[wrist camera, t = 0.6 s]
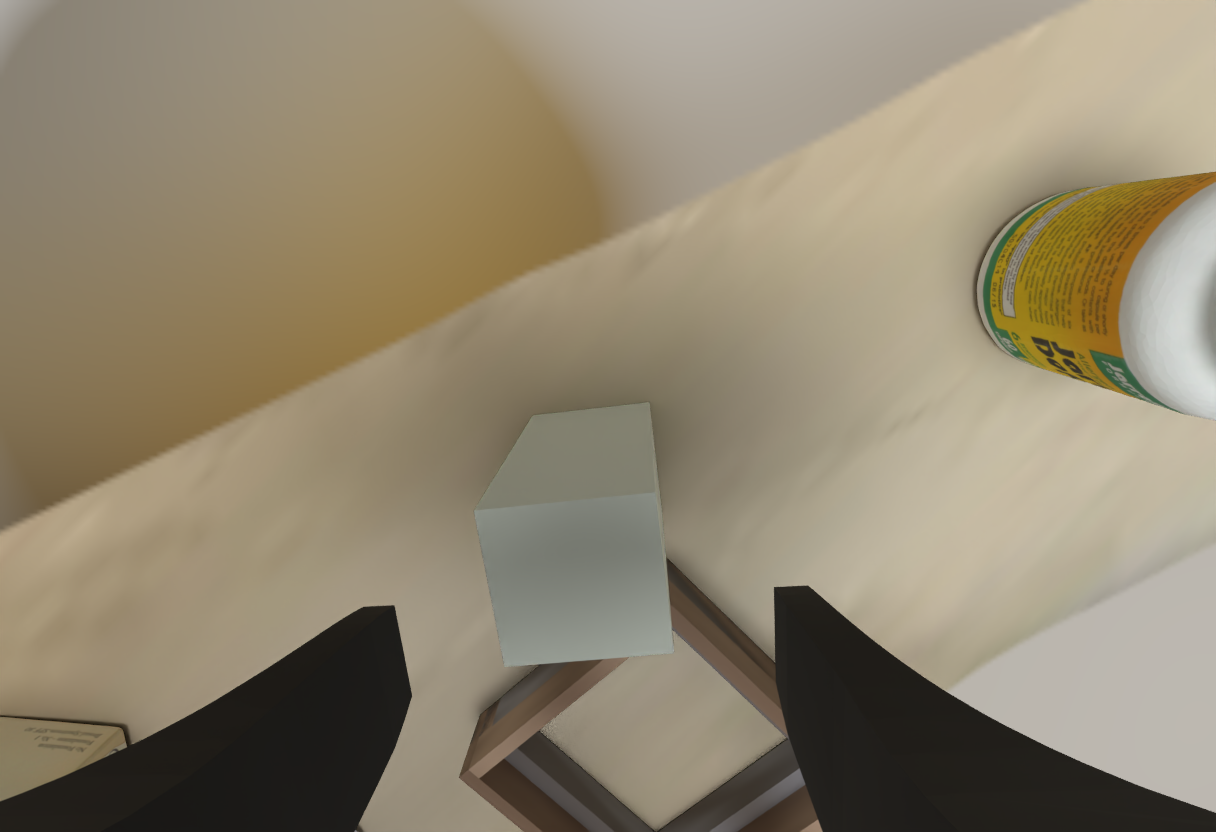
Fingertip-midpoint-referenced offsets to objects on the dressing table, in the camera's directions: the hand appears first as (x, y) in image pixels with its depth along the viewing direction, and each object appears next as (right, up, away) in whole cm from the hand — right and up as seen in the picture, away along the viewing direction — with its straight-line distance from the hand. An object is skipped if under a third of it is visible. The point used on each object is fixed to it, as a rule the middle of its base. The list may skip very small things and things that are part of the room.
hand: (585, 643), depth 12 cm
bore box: (+2, -8, +13) cm, 15 cm away
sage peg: (0, +3, +10) cm, 10 cm away
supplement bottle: (+14, +8, +8) cm, 19 cm away
